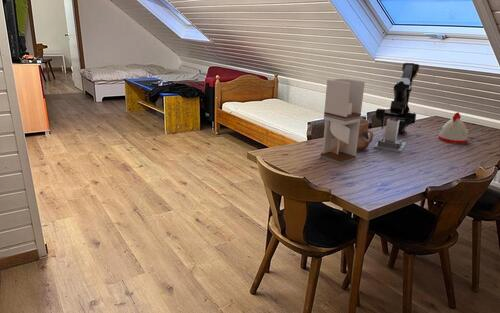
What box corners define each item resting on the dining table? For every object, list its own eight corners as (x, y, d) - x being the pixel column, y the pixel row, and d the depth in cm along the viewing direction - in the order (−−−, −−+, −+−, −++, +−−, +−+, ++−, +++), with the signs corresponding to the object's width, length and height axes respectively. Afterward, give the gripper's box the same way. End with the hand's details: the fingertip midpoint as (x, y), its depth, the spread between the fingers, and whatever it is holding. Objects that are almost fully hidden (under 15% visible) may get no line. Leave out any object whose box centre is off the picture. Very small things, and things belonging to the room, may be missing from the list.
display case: (320, 157, 180) (327, 79, 168) (335, 153, 186) (342, 78, 175) (340, 164, 172) (349, 83, 160) (355, 159, 178) (364, 81, 167)
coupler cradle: (380, 140, 209) (381, 133, 208) (406, 144, 203) (407, 137, 202) (373, 148, 196) (374, 141, 194) (401, 152, 190) (402, 145, 189)
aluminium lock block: (385, 142, 201) (389, 116, 197) (395, 144, 199) (400, 117, 194) (383, 145, 197) (387, 118, 192) (394, 147, 195) (398, 119, 190)
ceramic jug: (329, 147, 195) (332, 119, 190) (345, 141, 205) (348, 114, 200) (362, 157, 183) (366, 127, 178) (377, 150, 193) (381, 122, 188)
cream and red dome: (433, 139, 215) (438, 111, 210) (444, 134, 223) (449, 108, 218) (460, 145, 205) (466, 116, 200) (470, 140, 214) (476, 113, 209)
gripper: (379, 92, 197) (371, 118, 192) (419, 96, 189) (412, 123, 183) (380, 105, 206) (372, 130, 201) (418, 109, 198) (411, 136, 192)
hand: (391, 130), depth 194 cm, fingers open, 9 cm apart
